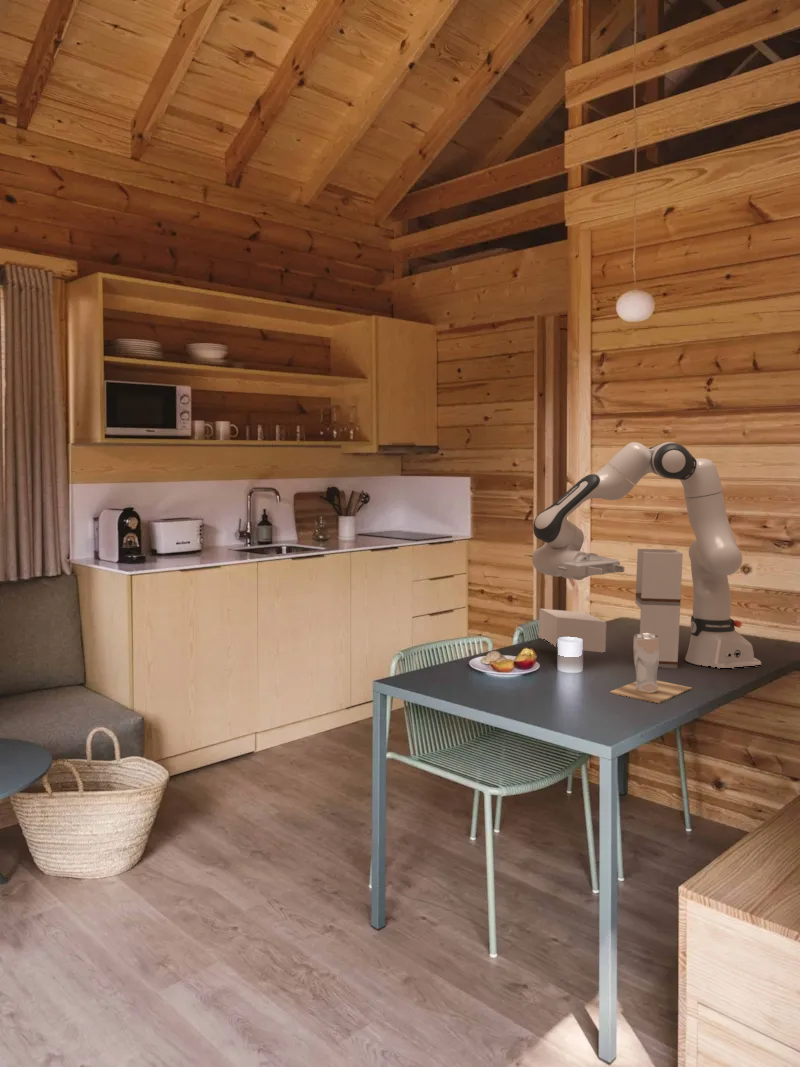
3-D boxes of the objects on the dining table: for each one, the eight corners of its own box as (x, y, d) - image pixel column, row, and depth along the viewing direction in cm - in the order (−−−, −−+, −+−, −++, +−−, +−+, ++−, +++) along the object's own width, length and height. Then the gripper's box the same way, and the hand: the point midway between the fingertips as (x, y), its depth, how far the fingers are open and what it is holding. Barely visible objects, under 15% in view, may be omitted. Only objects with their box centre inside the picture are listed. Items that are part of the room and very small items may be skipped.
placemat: (644, 679, 249) (644, 678, 249) (691, 689, 240) (691, 687, 240) (609, 693, 235) (610, 691, 235) (658, 703, 225) (658, 702, 225)
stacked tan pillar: (670, 660, 274) (675, 549, 271) (677, 668, 263) (682, 553, 260) (633, 658, 275) (637, 548, 272) (638, 666, 265) (643, 552, 261)
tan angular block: (552, 634, 310) (553, 606, 309) (619, 650, 287) (620, 619, 286) (524, 639, 301) (525, 610, 300) (590, 656, 278) (592, 624, 277)
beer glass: (662, 687, 237) (662, 634, 236) (656, 695, 231) (656, 639, 230) (636, 685, 241) (636, 632, 239) (630, 692, 235) (629, 637, 233)
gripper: (554, 557, 261) (590, 562, 250) (597, 553, 274) (634, 557, 263) (553, 578, 262) (590, 584, 251) (596, 573, 274) (633, 578, 264)
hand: (613, 570), depth 257 cm, fingers open, 8 cm apart
